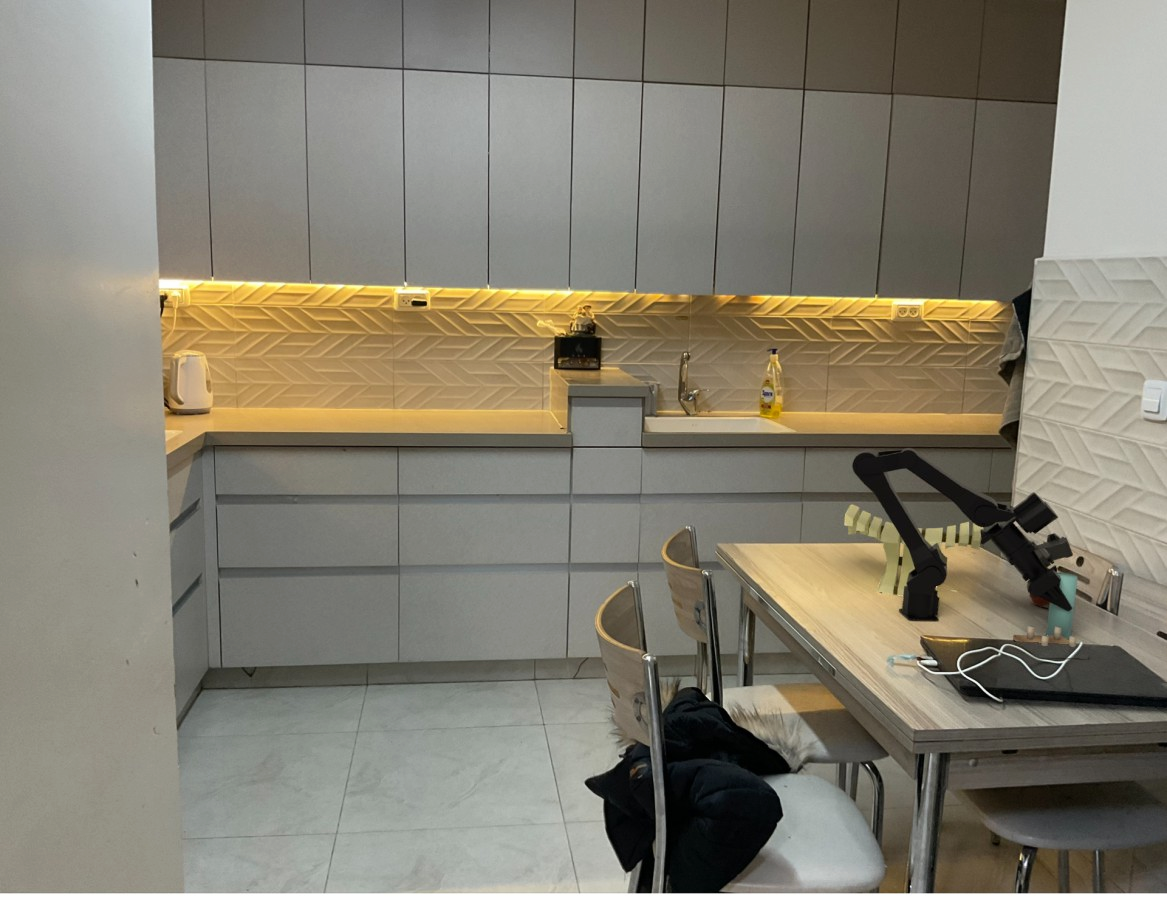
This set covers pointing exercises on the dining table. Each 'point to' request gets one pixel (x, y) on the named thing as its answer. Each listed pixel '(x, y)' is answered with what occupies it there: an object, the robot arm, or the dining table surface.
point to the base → (1045, 637)
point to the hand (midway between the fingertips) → (1069, 606)
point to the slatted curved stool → (893, 542)
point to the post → (1060, 615)
